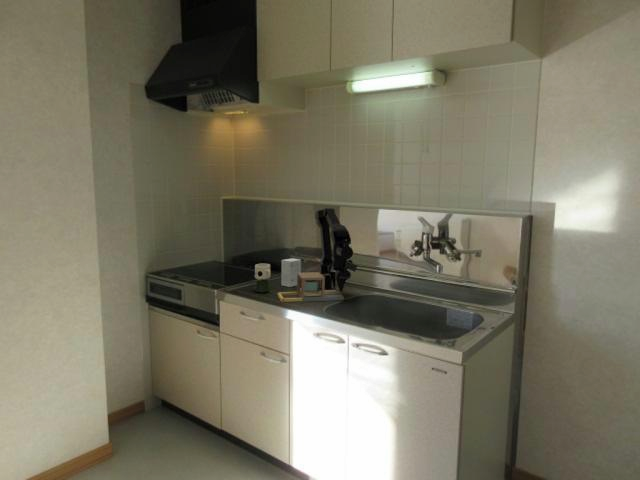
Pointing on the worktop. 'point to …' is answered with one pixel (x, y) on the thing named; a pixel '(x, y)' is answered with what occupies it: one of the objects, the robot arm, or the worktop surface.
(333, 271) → the robot arm
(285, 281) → the small box
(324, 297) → the tunnel track
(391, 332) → the worktop surface
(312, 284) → the block
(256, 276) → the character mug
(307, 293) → the sled
